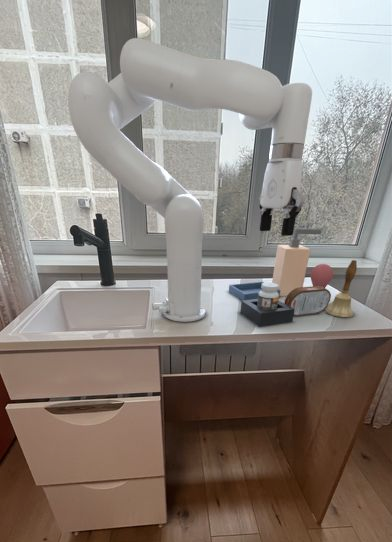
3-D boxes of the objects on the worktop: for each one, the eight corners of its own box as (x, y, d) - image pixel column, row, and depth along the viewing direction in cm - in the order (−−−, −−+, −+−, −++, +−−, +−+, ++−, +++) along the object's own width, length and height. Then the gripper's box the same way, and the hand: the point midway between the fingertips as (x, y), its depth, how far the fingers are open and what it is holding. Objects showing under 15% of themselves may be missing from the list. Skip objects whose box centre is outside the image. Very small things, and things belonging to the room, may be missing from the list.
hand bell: (330, 306, 95) (343, 256, 87) (357, 312, 90) (373, 260, 82) (320, 312, 89) (333, 260, 82) (348, 320, 84) (365, 265, 77)
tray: (243, 301, 97) (244, 294, 96) (228, 291, 106) (229, 284, 105) (279, 297, 102) (280, 290, 100) (261, 288, 111) (262, 281, 110)
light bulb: (309, 294, 105) (316, 260, 100) (329, 298, 102) (338, 263, 96) (303, 299, 100) (310, 264, 94) (324, 303, 97) (333, 267, 91)
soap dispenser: (278, 295, 103) (289, 230, 92) (270, 288, 110) (280, 227, 100) (312, 295, 104) (327, 230, 93) (302, 288, 111) (315, 227, 101)
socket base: (259, 327, 79) (261, 313, 77) (240, 312, 88) (241, 300, 86) (292, 322, 82) (294, 309, 80) (270, 308, 91) (272, 296, 89)
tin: (321, 309, 91) (328, 284, 87) (328, 313, 89) (335, 286, 85) (281, 314, 87) (286, 287, 83) (287, 318, 84) (292, 291, 80)
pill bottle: (274, 322, 82) (280, 288, 77) (254, 319, 83) (258, 286, 78) (275, 315, 87) (281, 282, 82) (256, 312, 88) (260, 280, 83)
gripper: (252, 157, 73) (246, 229, 81) (297, 150, 59) (283, 238, 67) (277, 159, 75) (268, 228, 84) (325, 152, 61) (309, 236, 70)
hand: (275, 233), depth 75 cm, fingers open, 9 cm apart
